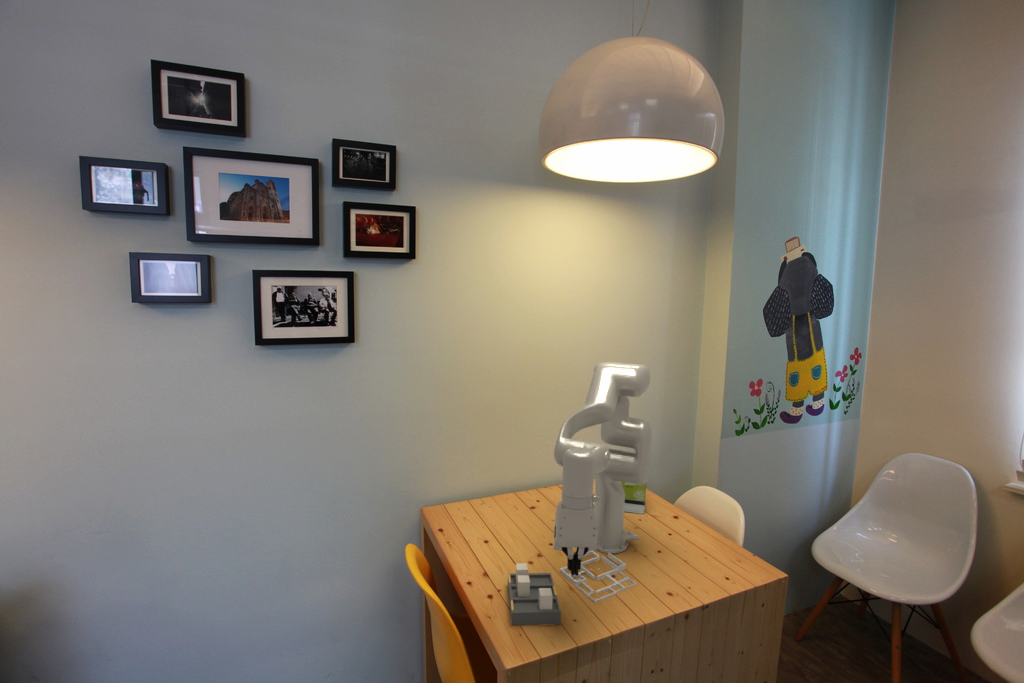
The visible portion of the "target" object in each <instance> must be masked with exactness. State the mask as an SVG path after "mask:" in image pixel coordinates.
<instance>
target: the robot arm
mask: <svg viewBox="0 0 1024 683" xmlns="http://www.w3.org/2000/svg"><path fill="white" fill-rule="evenodd" d="M591 377H592V378H591V380H590V384H589V388H588V392H587V396H586V399H585V402H584V405H583V406H582V407H581V408H579V409H577V410H576V411H574V412H573V413H571V414H570V415H569V417H567V418H566V419H565V420H564V422H563V424H562V425H561V427H560V429H559V431H558V436H557V437H556V442H555V445H554V450H553V458H554V461H555V463H556V464H557V465H558V466H560V467H562V483H561V485H562V486H561V501H558V503H557V506H556V511H555V515H554V516H555V517H554V525H553V539H554V541H553V544H552V546H553V550H555V551H559V552H563V554H564V555H565V556H566V557H567V561H566V562H567V565H566V566H567V568H568V570H569V572H570V574H571V575H578V572H579V571H581V570H580V568H581V562H582V559H583V558H584V557H583V556H584V555H585V554H586V553H587V552H589V551H598V552H601V553H603V554H608V552H609V553H611V554H612V555H614V554H619V553H622V552H624V551H626V550H627V548H628V542H629V541H638V540H639V538H638V534H637V533H632V531H631V530H626V531H625V530H624V521H625V520H624V519H625V515H624V514H625V511H624V502H625V493H624V489H623V487H622V485H621V483H620V482H619V481H622V482H627V483H633V484H645V483H646V484H647V482H648V481H649V477H650V466H651V454H652V453H651V452H652V436H653V435H652V434H653V433H652V426H651V424H650V423H649V421H648V420H646V419H643V418H637V417H630V415H629V414H630V399H629V397H631V398H639V397H641V396H642V395H643V394H644V393H645V392H647V390H648V388H649V387H650V382H651V372H650V369H649V368H648V366H647V365H645V364H639V363H638V364H637V363H628V362H627V363H625V362H615V361H602V362H599V363H596V364H595V366H594V369H593V374H592V376H591ZM597 425H600V438H601V441H602V442H603V443H605V444H607V445H611V446H616V447H624V448H630V449H633V450H634V451H635V452H632V451H625V450H622V449H621V450H620V449H614V448H608V447H607V446H606V445H605V444H603V443H599V442H595V441H588V440H584V439H583V440H582V439H576V438H573V436H575V434H577V432H580V431H582V430H583V429H586V428H589V427H594V426H597ZM594 484H595V485H594ZM573 548H575V552H574V553H573Z"/></svg>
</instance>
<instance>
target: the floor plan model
mask: <svg viewBox="0 0 1024 683" xmlns="http://www.w3.org/2000/svg"><path fill="white" fill-rule="evenodd" d="M590 555H592V556H593V558H590V559H587V560H584V561H581V568H580V570H579V571H580V572H579V571H578V575H571V573H569V574H568V573H567V572H570V570H568V568H567V565H566V566H563V567H561V568H559V574H561V575H562V576H563V577H564V578H566V580H568V581H569V582H570V583H571V584H572V585H574V586H575V588H577V590H578V591H580V592H581V593H582V594H584V596H586V597H587V598H588V599H589V600H591V601H592V602H593V603H594V604H596V602H597V603H599V602H601V601H604V600H606V599H609V598H611V597H613V596H615V595H617V594H618V593H620V592H623V591H624V590H628V589H629V588H633V587H634V585H635V586H636V585H637V582H636V581H635V580H633V579H631V578H630V577H629V576H627V575H626V574H624V573H623V572H622V571H623V570H626V569H627V564H626V563H625V562H623V561H622V560H621V559H620V558H618V557H616V556H614V554H612V553H609V552H608V553H607V557H606V556H604V555H601V557H602V558H600V555H599V554H598V553H597V552H595V550H592V551H588V552H587V553H586V554H585V555H584V556H583V558H585V557H587V556H590ZM608 558H609V559H608ZM600 560H601V561H603V562H604V563H605V564H606V565H608V566H610V568H612V570H611V569H609V568H607V569H606V568H604V573H601V574H599V575H597V576H595V575H594V574H593V573H592V572H594V573H595V570H594V569H593V568H589V569H587V568H585V567H584V566H586V565H589V564H591V563H594V562H598V561H600ZM612 561H613V562H612ZM615 563H616V564H615ZM597 570H600V568H599V567H597ZM607 570H609V571H607ZM590 571H592V572H590ZM616 574H620V575H621V576H623V577H622V579H620V580H619V578H618V577H617V578H616V579H615V578H614V577H612V576H613V575H616ZM584 575H587V576H588V578H590V579H591V580H592V581H594V580H596V581H598V582H599V581H602V580H604V579H608V580H609V581H610V582H611V584H609V585H607V586H604V587H602V588H600V589H598V587H596V588H597V590H594V589H593V588H591V587H590V586H589V584H586V583H587V578H586V577H585V576H584ZM574 578H576V579H574ZM617 580H618V581H617ZM627 581H629V582H630V583H632V584H630V585H627V586H624V585H623V583H625V582H627ZM581 585H582V586H583V587H584V588H585V589H587V590H588V591H589V592H588V593H587V592H586V591H585V590H584V589H583V588H581V587H580V586H581ZM616 587H619V588H620V589H617V590H614V588H616ZM607 591H610V592H611V593H609V594H607V595H603V596H600V597H598V598H596V599H595V598H593V597H592V595H594V593H595V594H596V595H599V594H602V593H603V592H607Z"/></svg>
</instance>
